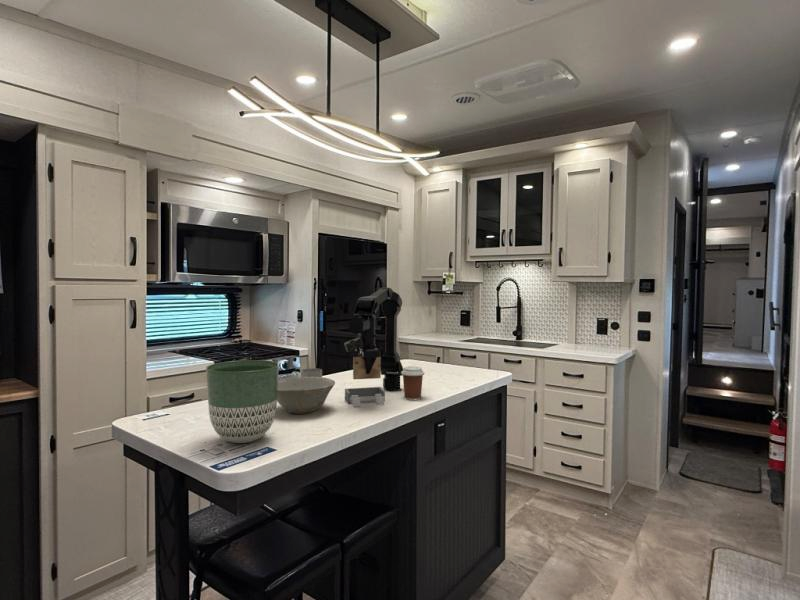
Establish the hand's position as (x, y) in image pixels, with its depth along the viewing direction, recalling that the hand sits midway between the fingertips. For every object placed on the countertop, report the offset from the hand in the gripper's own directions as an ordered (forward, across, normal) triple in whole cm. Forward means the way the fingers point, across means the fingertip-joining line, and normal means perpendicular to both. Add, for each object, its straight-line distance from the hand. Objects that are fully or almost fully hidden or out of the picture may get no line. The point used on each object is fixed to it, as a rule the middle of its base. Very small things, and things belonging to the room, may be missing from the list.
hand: (367, 373), depth 174 cm
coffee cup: (+12, -5, +19) cm, 23 cm away
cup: (+12, -20, -19) cm, 30 cm away
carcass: (+12, -4, 0) cm, 12 cm away
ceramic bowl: (+12, +3, -24) cm, 27 cm away
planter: (+12, +31, -42) cm, 54 cm away
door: (+2, 0, 0) cm, 2 cm away
